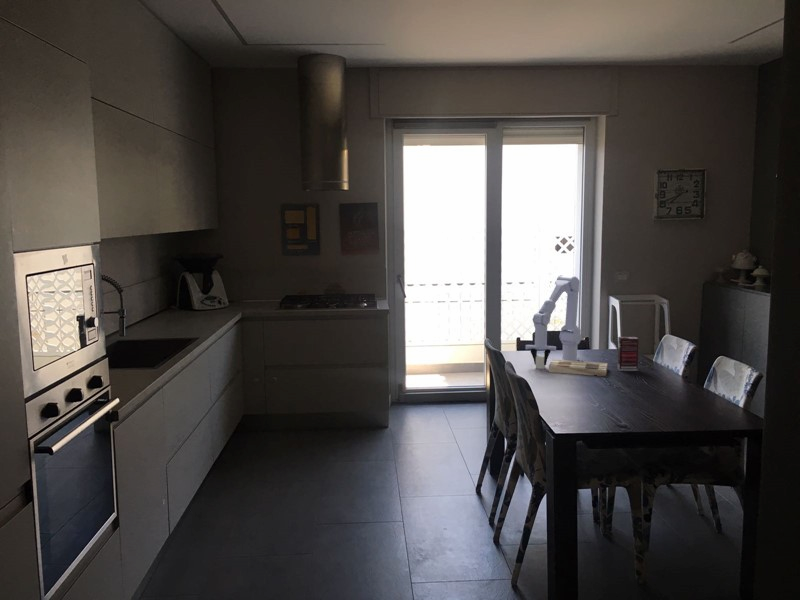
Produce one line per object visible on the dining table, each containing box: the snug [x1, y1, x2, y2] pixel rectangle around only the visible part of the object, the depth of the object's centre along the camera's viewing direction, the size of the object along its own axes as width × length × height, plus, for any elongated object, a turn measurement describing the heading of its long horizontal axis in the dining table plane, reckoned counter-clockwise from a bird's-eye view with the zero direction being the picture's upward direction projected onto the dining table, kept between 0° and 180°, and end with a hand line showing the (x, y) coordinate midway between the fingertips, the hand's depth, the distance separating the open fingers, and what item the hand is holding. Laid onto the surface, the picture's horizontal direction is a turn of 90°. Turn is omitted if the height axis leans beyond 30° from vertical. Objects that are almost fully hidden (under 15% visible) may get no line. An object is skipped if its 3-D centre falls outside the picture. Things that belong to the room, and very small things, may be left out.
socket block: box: [548, 358, 609, 377], centre depth 306 cm, size 14×26×3 cm, turn 69°
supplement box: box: [617, 336, 639, 372], centre depth 306 cm, size 9×5×16 cm, turn 84°
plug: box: [535, 354, 546, 370], centre depth 313 cm, size 4×4×6 cm
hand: (540, 364), depth 313 cm, fingers closed on plug, 4 cm apart
